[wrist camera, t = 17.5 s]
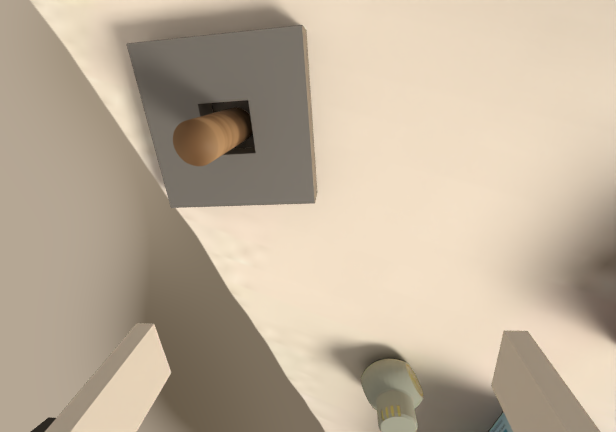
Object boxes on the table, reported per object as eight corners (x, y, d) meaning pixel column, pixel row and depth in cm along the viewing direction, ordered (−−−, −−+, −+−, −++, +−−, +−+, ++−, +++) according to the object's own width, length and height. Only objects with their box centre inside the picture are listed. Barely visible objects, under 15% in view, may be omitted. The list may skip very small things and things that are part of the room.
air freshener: (423, 385, 57) (438, 443, 48) (381, 396, 60) (388, 454, 50) (398, 344, 54) (409, 398, 45) (355, 358, 56) (357, 412, 47)
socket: (306, 30, 36) (301, 24, 32) (317, 192, 44) (314, 203, 40) (146, 46, 39) (126, 43, 35) (184, 197, 47) (171, 207, 43)
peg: (251, 106, 40) (212, 118, 28) (256, 140, 42) (221, 165, 30) (218, 108, 41) (167, 121, 29) (224, 142, 43) (178, 167, 31)
